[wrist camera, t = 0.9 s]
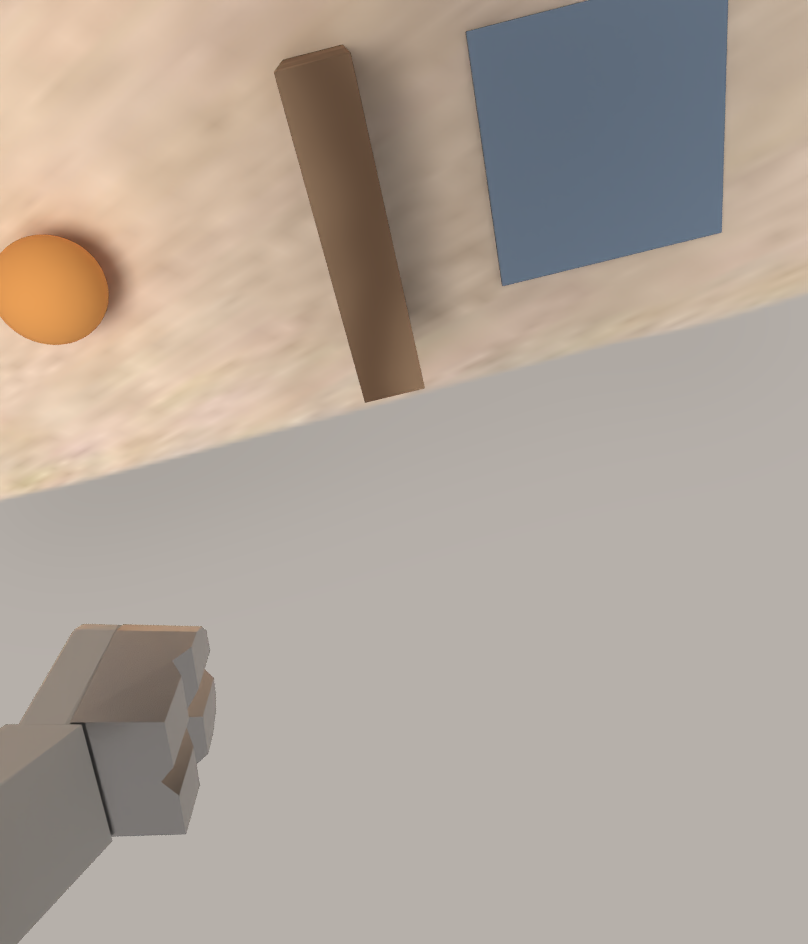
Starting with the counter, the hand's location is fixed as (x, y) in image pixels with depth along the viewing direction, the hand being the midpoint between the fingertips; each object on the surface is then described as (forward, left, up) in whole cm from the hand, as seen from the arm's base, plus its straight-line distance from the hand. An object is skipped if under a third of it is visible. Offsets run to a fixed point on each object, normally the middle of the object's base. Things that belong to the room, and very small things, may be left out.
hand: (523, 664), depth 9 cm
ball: (-7, -16, -32) cm, 36 cm away
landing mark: (+7, +11, -35) cm, 37 cm away
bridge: (+1, -2, -35) cm, 35 cm away
